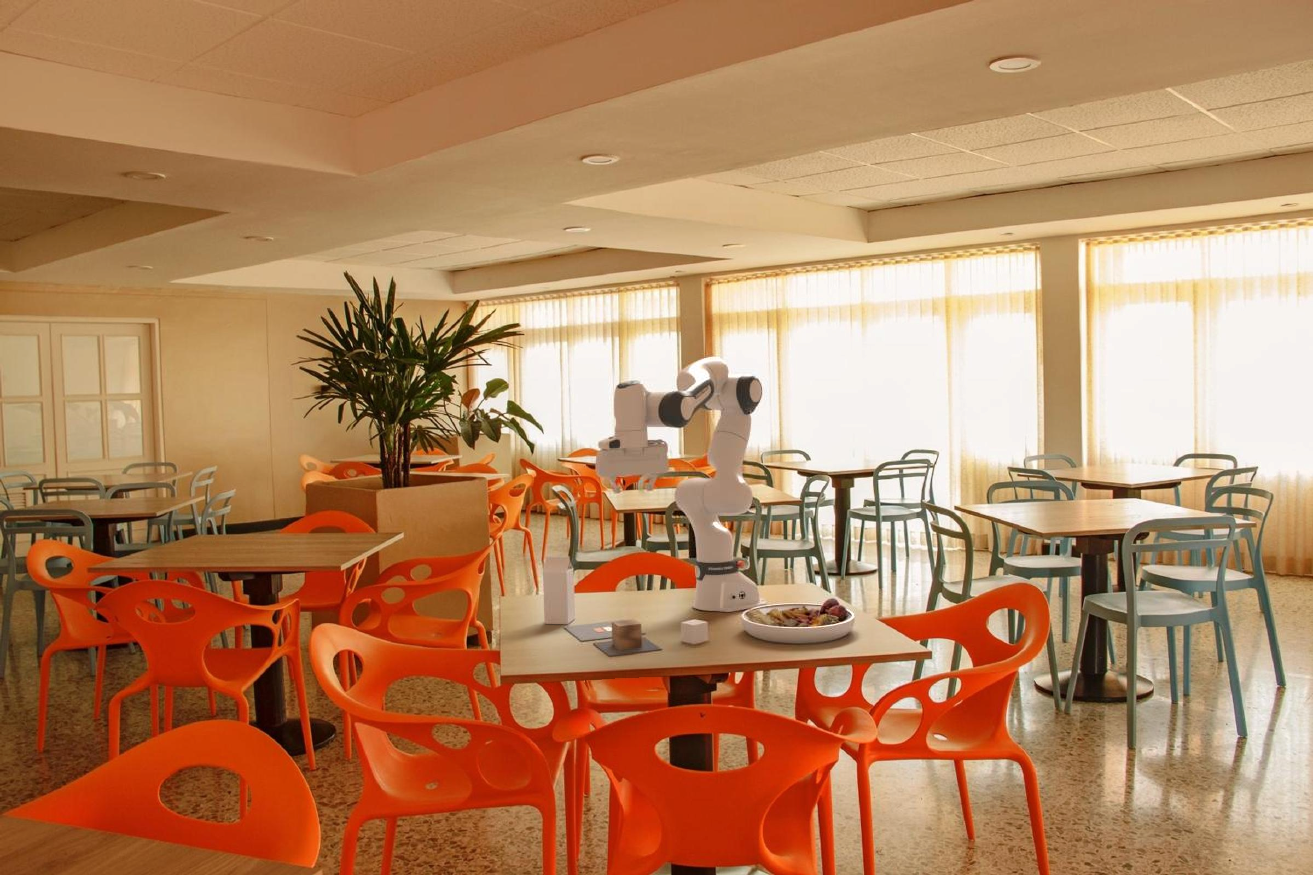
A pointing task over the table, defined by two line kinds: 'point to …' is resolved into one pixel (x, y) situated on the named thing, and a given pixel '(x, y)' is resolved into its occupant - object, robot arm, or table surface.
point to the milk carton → (558, 591)
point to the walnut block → (626, 634)
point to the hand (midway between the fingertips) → (633, 491)
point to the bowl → (799, 622)
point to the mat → (614, 651)
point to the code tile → (592, 631)
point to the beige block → (694, 631)
